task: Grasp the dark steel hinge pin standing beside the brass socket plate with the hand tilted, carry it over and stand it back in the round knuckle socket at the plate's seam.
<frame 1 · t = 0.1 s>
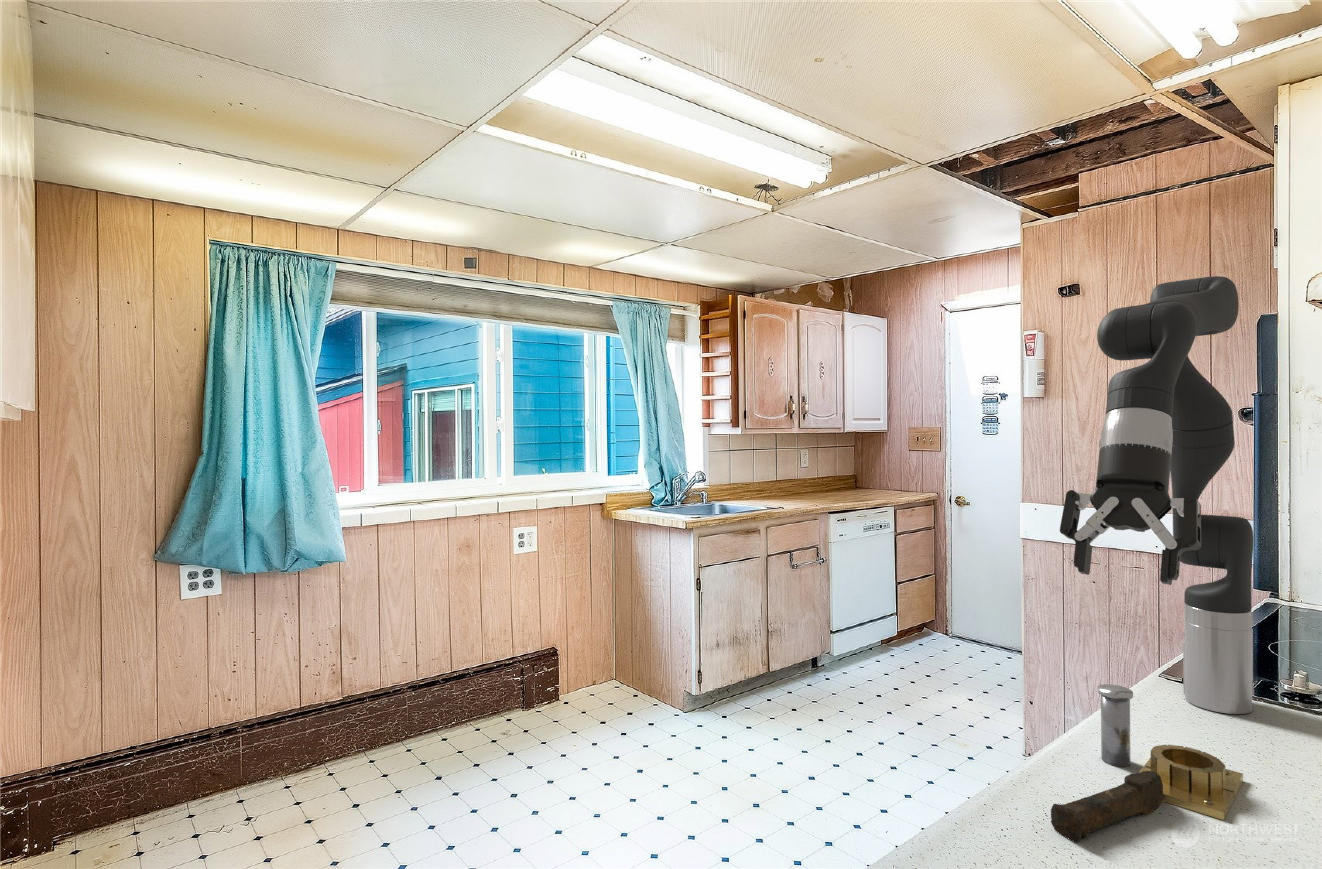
hand: (1122, 578, 84), 31 cm above the countertop, tool tilted 20°, fingers open, 8 cm apart
hinge pin: (1115, 761, 103), on the countertop
hand tool: (1110, 820, 89), on the countertop
brass socket plate: (1187, 785, 96), on the countertop
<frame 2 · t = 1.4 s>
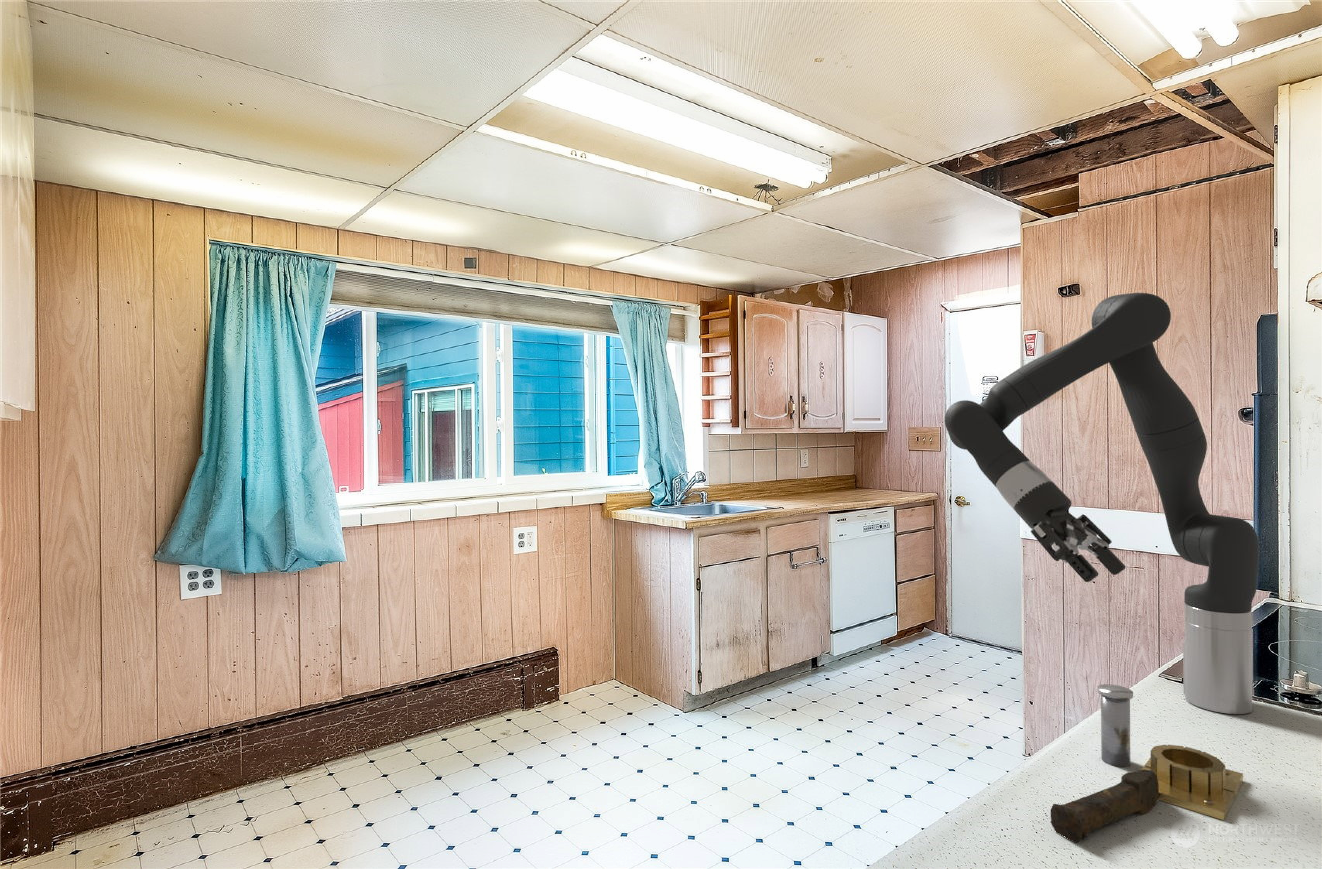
hand: (1107, 575, 107), 27 cm above the countertop, tool tilted 45°, fingers open, 8 cm apart
nothing on the countertop moved.
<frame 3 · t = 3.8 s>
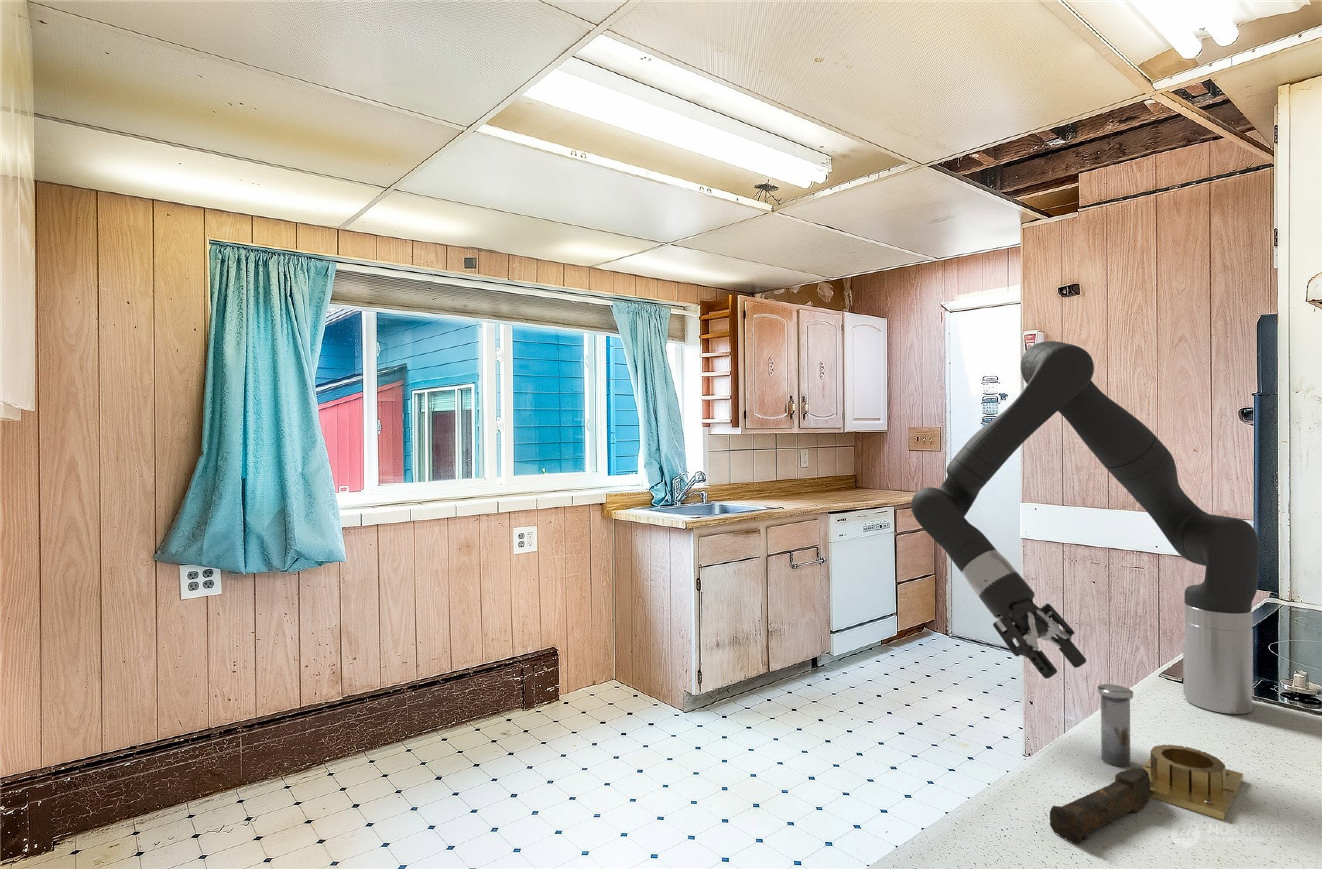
hand: (1067, 670, 109), 11 cm above the countertop, tool tilted 45°, fingers open, 8 cm apart
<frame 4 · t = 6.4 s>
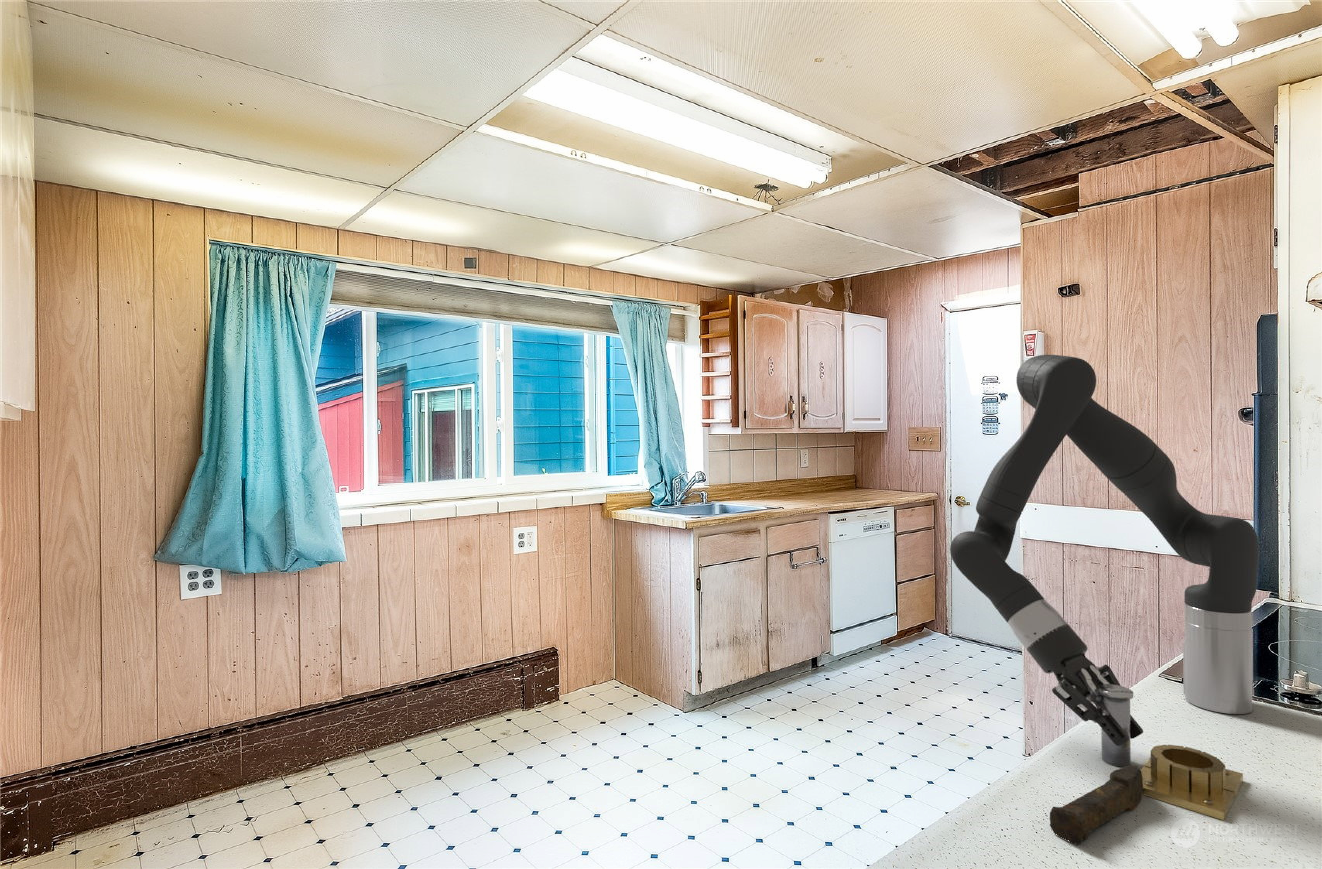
hand: (1130, 738, 101), 4 cm above the countertop, tool tilted 45°, fingers closed on hinge pin, 3 cm apart
hinge pin: (1116, 761, 103), on the countertop, touching gripper
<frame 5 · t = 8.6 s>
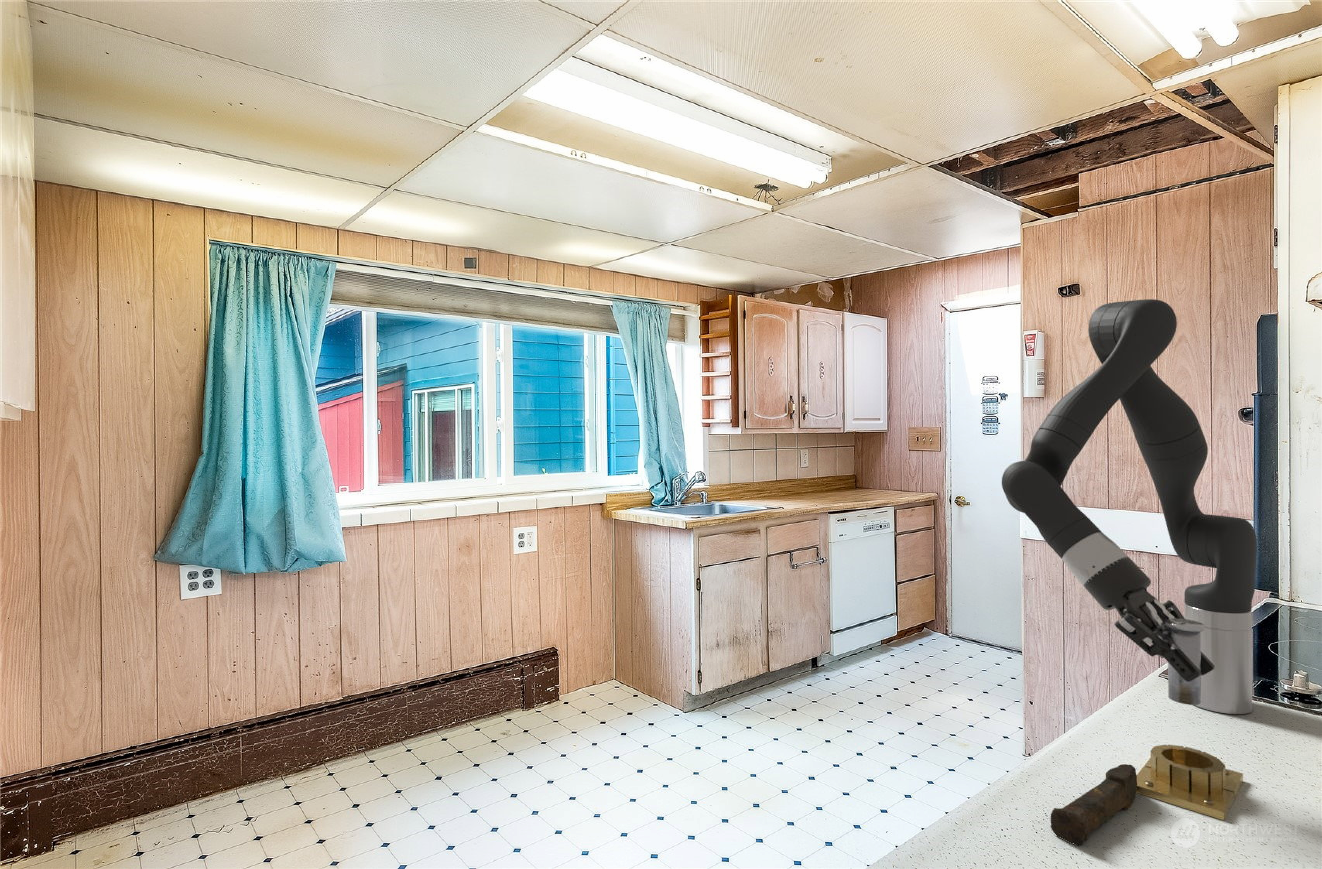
hand: (1201, 674, 94), 16 cm above the countertop, tool tilted 45°, fingers closed on hinge pin, 3 cm apart
hinge pin: (1184, 699, 96), point 12 cm above the countertop, touching gripper
when the fingers open (7 cm above the countertop, at t = 11.0 s): hinge pin drops 2 cm, resting on brass socket plate.
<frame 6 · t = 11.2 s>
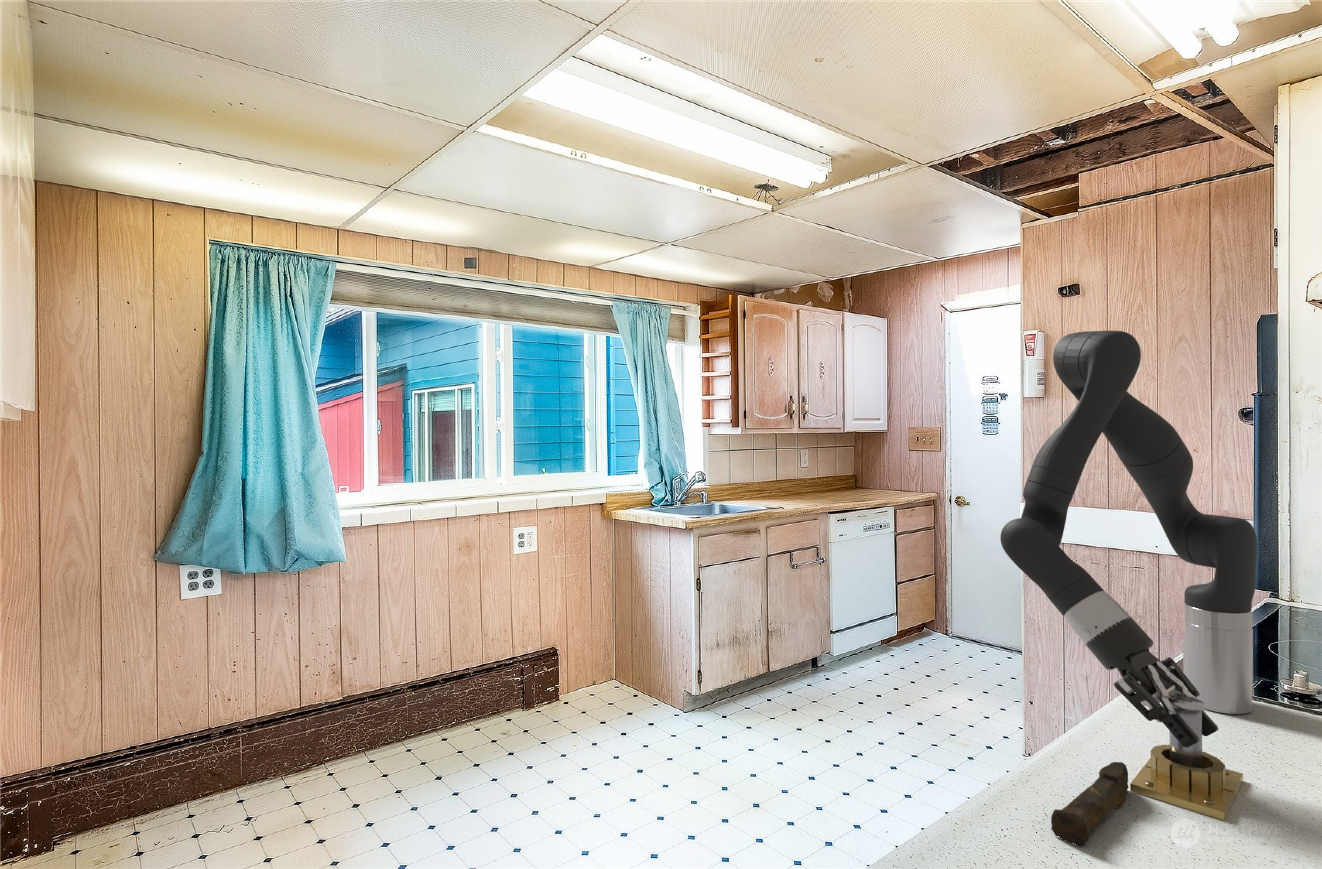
hand: (1202, 738, 94), 7 cm above the countertop, tool tilted 45°, fingers open, 5 cm apart
hinge pin: (1186, 777, 96), point 1 cm above the countertop, touching brass socket plate
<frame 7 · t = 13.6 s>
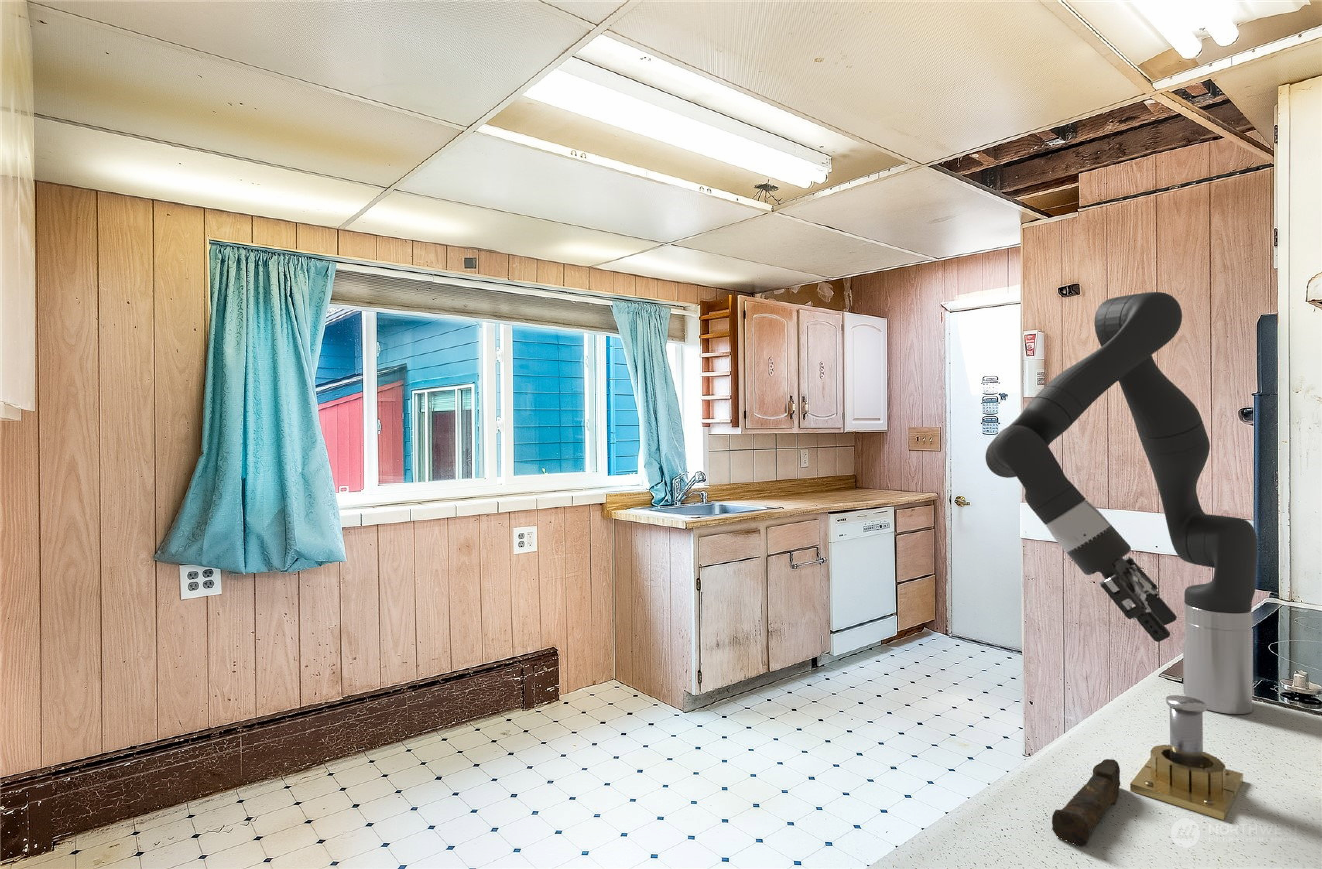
hand: (1167, 630, 101), 20 cm above the countertop, tool tilted 40°, fingers open, 8 cm apart
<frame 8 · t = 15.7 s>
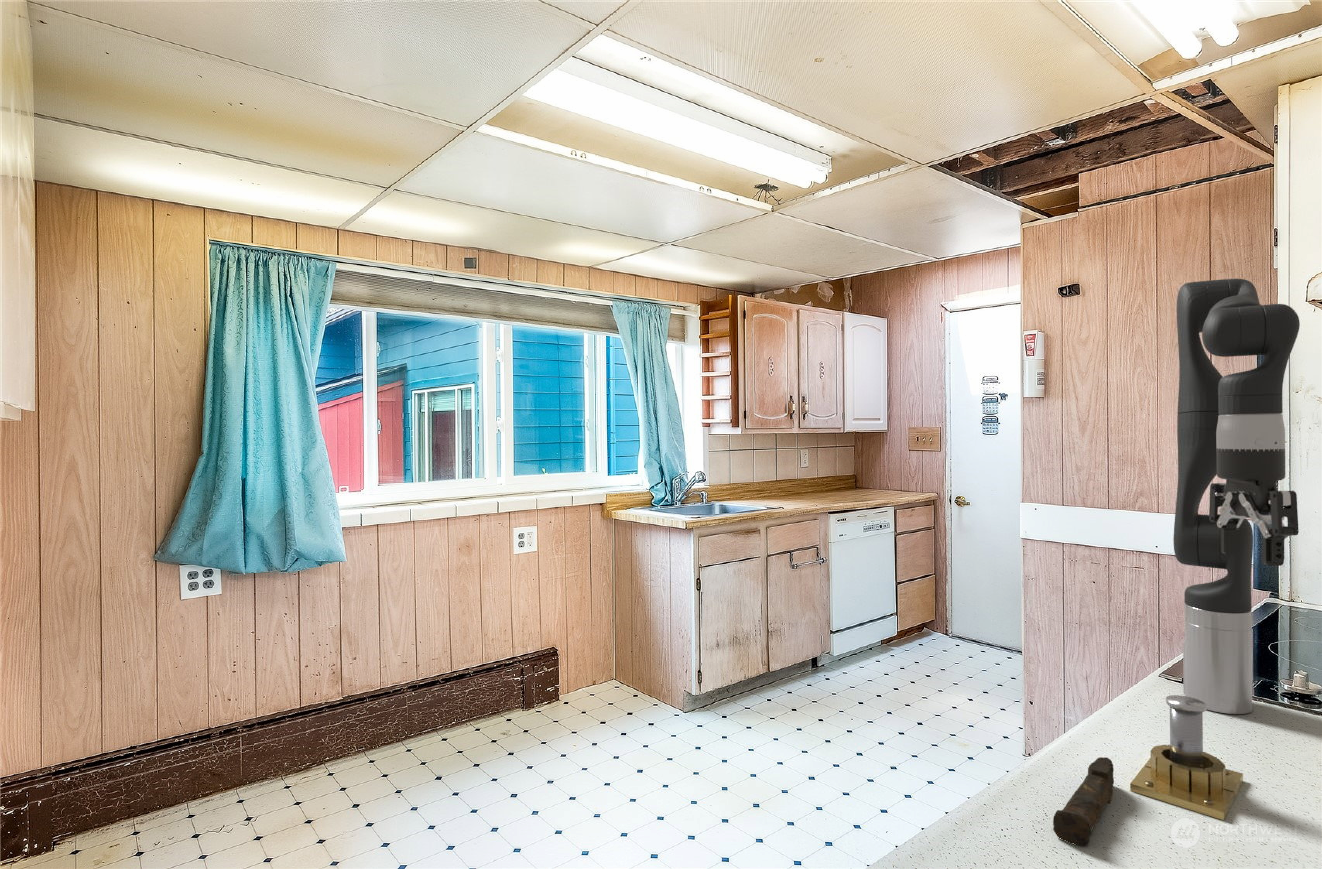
hand: (1250, 559, 100), 30 cm above the countertop, tool pointing down, fingers open, 8 cm apart
at the end: hinge pin 0.1 cm off-centre on the brass socket plate, point 1.0 cm above the brass socket plate's base; hinge pin tilted 0°; the gripper is holding nothing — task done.
